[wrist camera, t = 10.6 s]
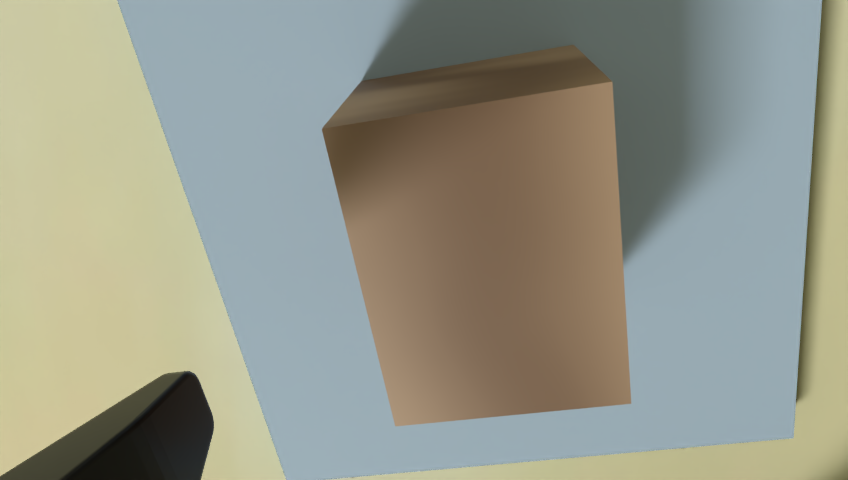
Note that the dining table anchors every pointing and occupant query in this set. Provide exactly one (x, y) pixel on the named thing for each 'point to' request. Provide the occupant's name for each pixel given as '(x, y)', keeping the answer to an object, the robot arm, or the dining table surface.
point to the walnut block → (487, 235)
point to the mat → (638, 195)
